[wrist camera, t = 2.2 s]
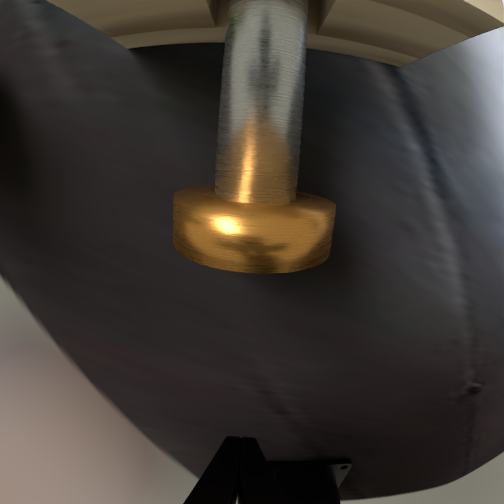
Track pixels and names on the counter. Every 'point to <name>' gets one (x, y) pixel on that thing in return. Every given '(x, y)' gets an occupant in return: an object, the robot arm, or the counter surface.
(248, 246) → the pin
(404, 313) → the counter surface
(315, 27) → the block
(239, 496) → the robot arm
